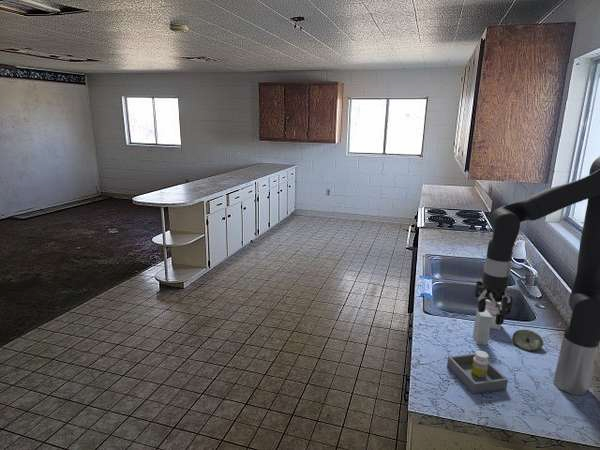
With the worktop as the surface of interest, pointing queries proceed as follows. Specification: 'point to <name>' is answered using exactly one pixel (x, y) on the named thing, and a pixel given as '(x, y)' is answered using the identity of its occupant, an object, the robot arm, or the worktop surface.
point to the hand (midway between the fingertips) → (489, 317)
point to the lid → (527, 340)
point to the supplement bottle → (480, 365)
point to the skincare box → (482, 327)
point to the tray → (462, 371)
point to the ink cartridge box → (493, 313)
